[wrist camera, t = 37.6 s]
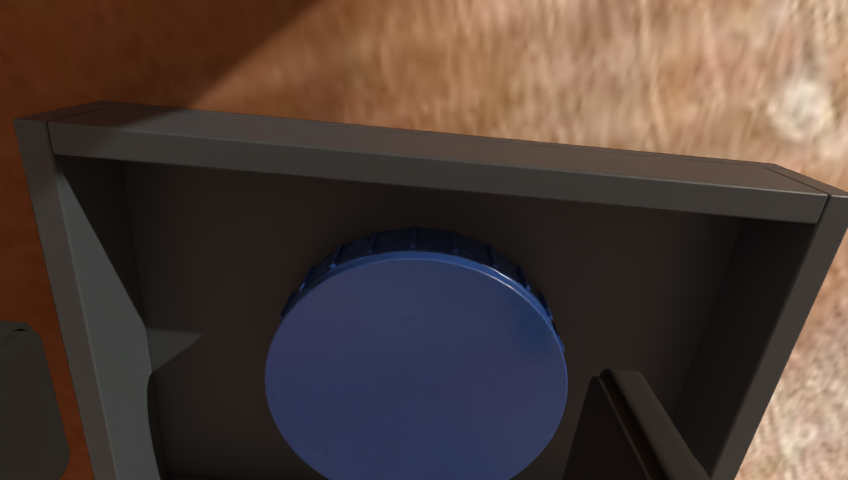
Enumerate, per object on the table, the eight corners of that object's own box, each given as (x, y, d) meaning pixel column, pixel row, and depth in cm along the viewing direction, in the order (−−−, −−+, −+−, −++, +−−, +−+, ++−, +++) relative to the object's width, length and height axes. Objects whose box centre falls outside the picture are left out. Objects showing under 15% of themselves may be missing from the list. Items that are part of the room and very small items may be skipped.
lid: (281, 439, 14) (262, 490, 13) (283, 208, 11) (259, 236, 10) (524, 465, 14) (535, 519, 13) (583, 243, 12) (606, 277, 10)
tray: (158, 473, 15) (110, 550, 13) (99, 100, 11) (10, 118, 9) (646, 513, 16) (682, 596, 13) (775, 163, 11) (863, 197, 9)
